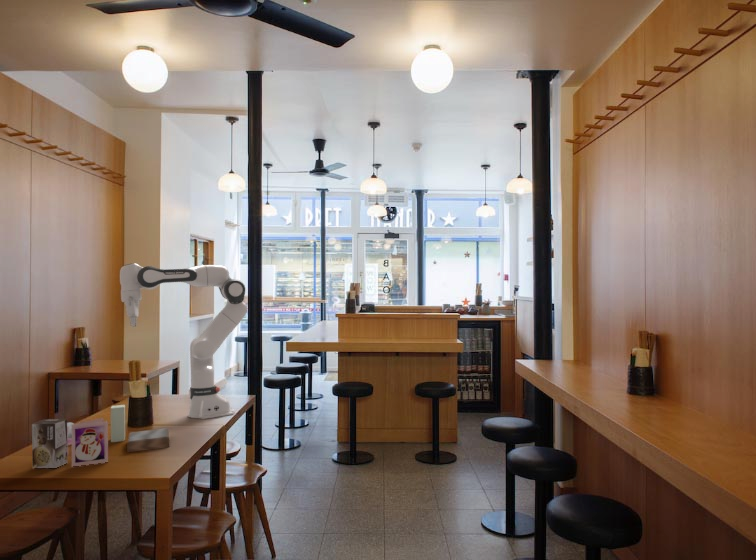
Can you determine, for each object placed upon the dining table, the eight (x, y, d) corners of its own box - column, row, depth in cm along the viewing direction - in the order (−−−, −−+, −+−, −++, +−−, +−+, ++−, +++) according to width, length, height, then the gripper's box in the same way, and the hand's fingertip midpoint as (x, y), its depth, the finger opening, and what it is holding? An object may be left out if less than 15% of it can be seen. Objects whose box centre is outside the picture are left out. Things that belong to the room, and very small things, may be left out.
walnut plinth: (168, 437, 216) (168, 427, 216) (169, 446, 202) (169, 436, 202) (129, 441, 210) (129, 432, 210) (127, 452, 196) (127, 441, 196)
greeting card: (71, 468, 179) (71, 425, 179) (74, 461, 186) (74, 420, 186) (107, 463, 184) (107, 421, 184) (109, 457, 190) (109, 417, 191)
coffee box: (68, 463, 184) (68, 418, 185) (55, 469, 178) (55, 423, 178) (45, 463, 185) (44, 418, 186) (31, 469, 179) (31, 423, 179)
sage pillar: (125, 437, 217) (124, 404, 217) (124, 440, 212) (124, 407, 212) (111, 439, 215) (111, 405, 215) (110, 442, 210) (110, 408, 210)
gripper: (137, 294, 235) (139, 324, 234) (140, 298, 254) (142, 326, 253) (121, 296, 233) (124, 326, 231) (126, 299, 251) (128, 327, 250)
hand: (133, 326), depth 242 cm, fingers open, 8 cm apart
